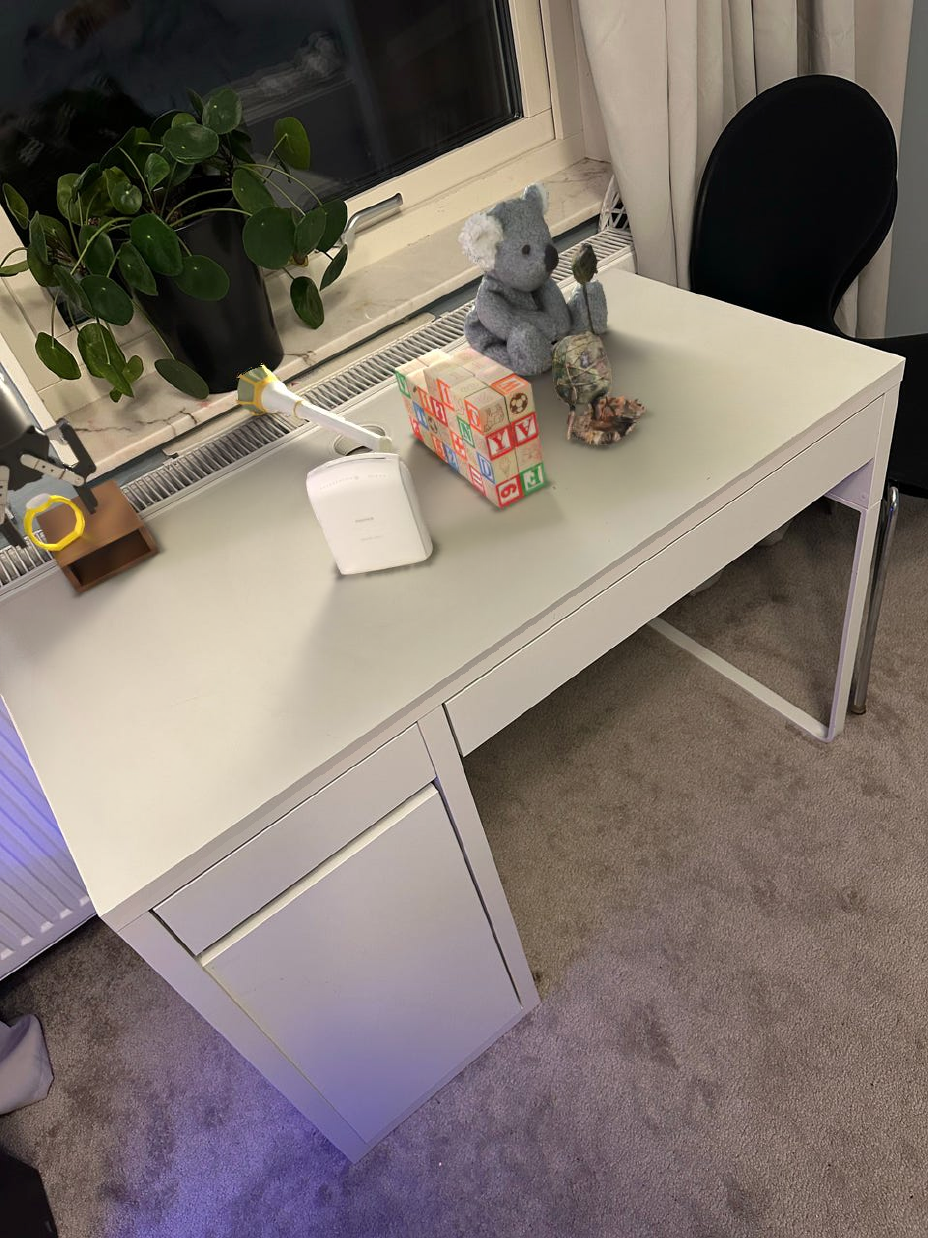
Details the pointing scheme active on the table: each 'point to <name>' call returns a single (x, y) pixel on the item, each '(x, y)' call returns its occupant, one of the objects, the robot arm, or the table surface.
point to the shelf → (110, 559)
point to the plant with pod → (590, 374)
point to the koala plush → (522, 286)
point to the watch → (41, 504)
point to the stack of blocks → (476, 420)
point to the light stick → (299, 408)
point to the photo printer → (369, 512)
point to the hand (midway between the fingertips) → (58, 527)
